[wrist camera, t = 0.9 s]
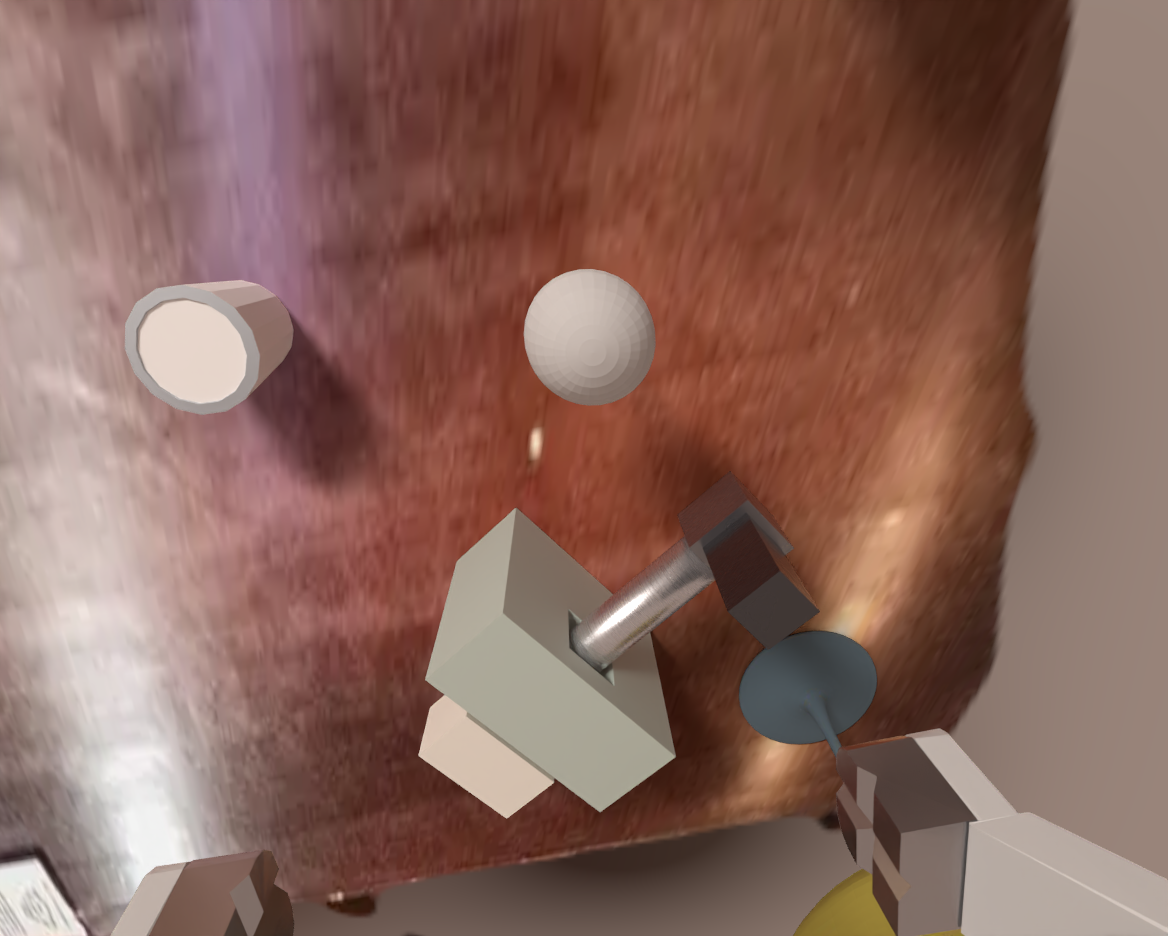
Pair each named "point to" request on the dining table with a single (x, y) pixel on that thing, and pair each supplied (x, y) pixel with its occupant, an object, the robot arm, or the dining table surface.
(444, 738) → the block
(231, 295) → the white cup
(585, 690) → the grey slotted block
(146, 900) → the robot arm
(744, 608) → the hammer
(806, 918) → the cocktail glass
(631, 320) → the lollipop
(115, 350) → the dining table surface
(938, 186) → the dining table surface
